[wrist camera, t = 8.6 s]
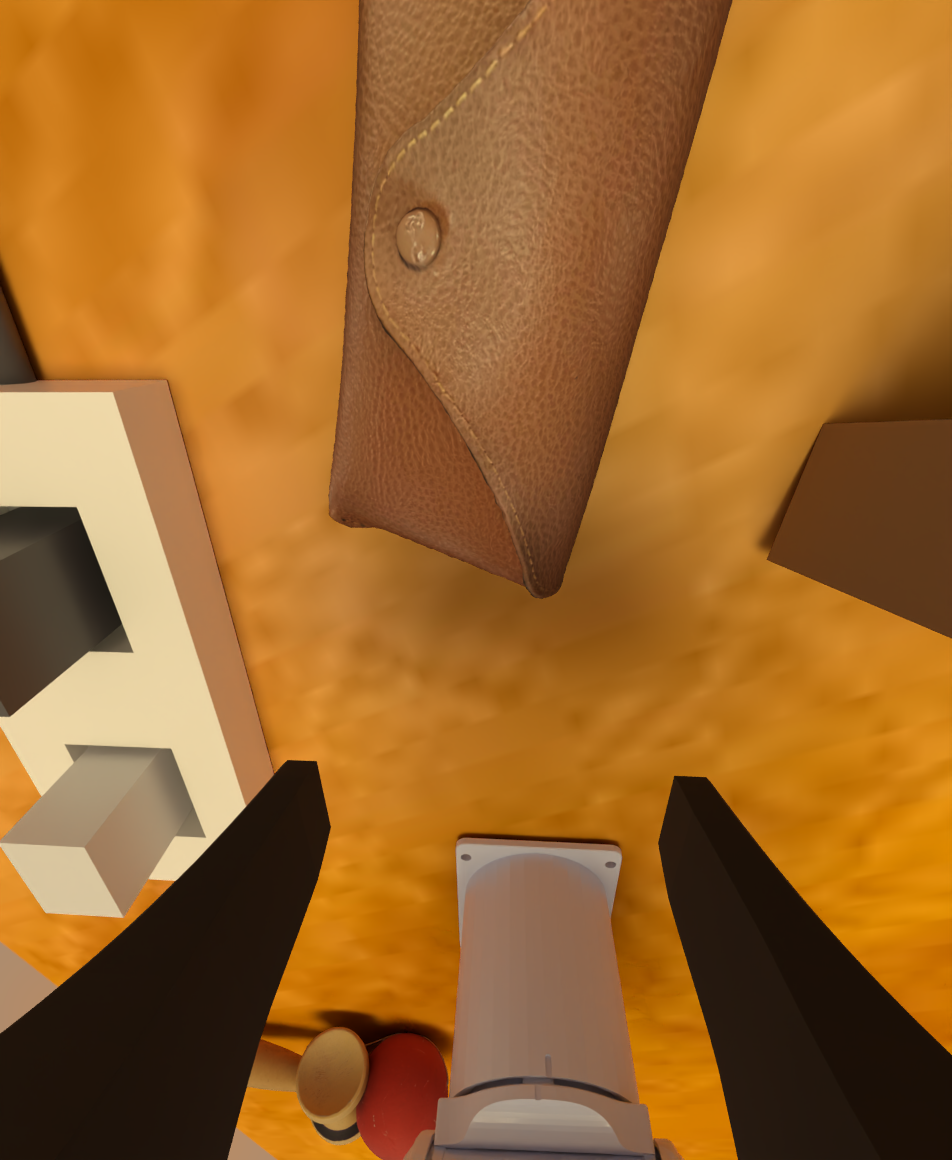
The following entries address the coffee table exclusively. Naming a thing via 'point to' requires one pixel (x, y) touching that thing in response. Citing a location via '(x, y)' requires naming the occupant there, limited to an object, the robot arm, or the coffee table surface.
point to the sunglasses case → (504, 259)
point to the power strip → (116, 596)
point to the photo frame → (877, 517)
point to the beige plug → (100, 830)
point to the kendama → (360, 1087)
